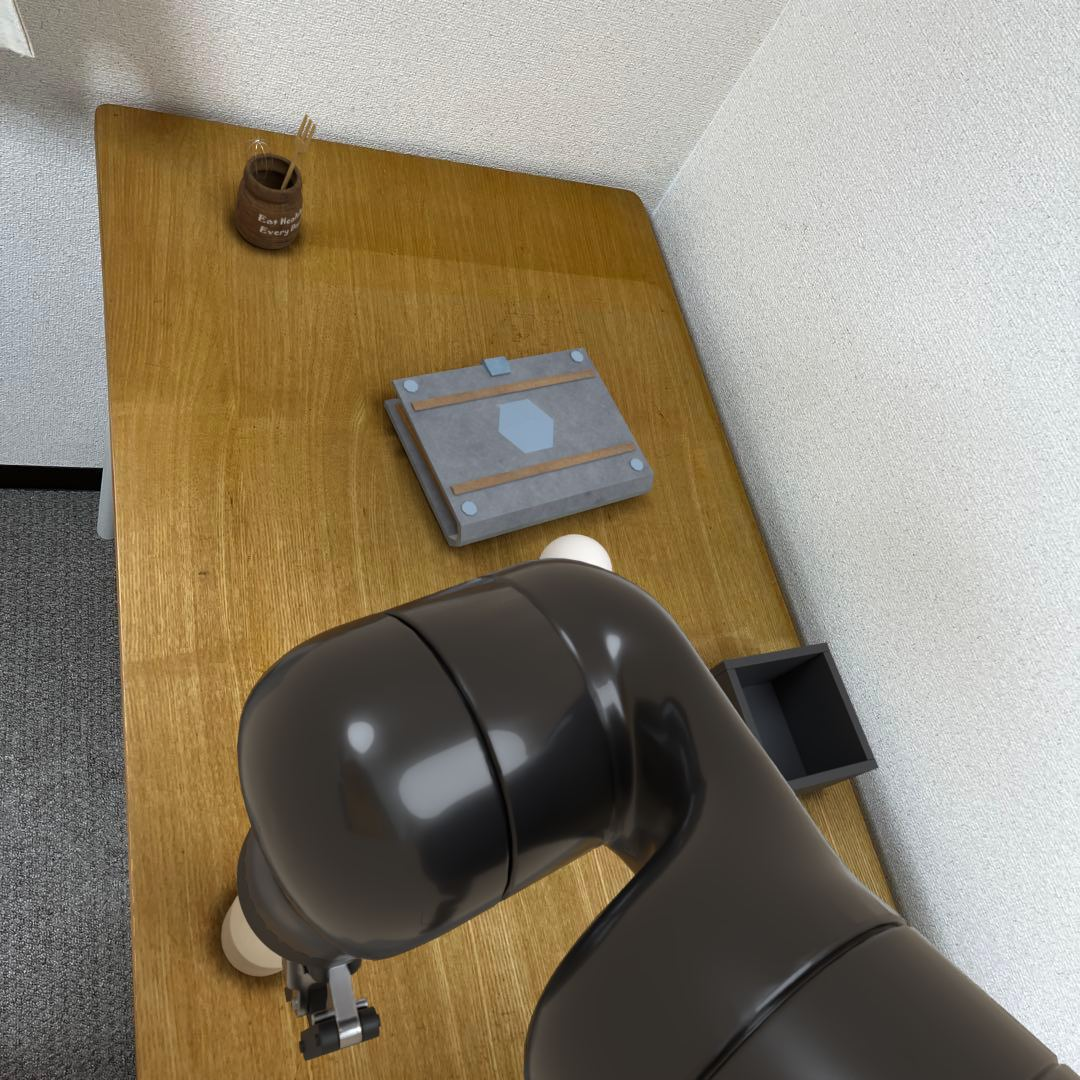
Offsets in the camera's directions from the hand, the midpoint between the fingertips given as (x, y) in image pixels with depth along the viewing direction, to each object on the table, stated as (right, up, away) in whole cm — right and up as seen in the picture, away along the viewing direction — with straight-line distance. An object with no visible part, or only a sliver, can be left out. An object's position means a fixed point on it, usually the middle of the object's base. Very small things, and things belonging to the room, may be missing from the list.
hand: (292, 903), depth 48 cm
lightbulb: (+13, +13, +32) cm, 37 cm away
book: (+11, +27, +38) cm, 48 cm away
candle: (-5, -7, +12) cm, 15 cm away
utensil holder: (-14, +50, +40) cm, 65 cm away
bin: (+31, +1, +33) cm, 45 cm away
